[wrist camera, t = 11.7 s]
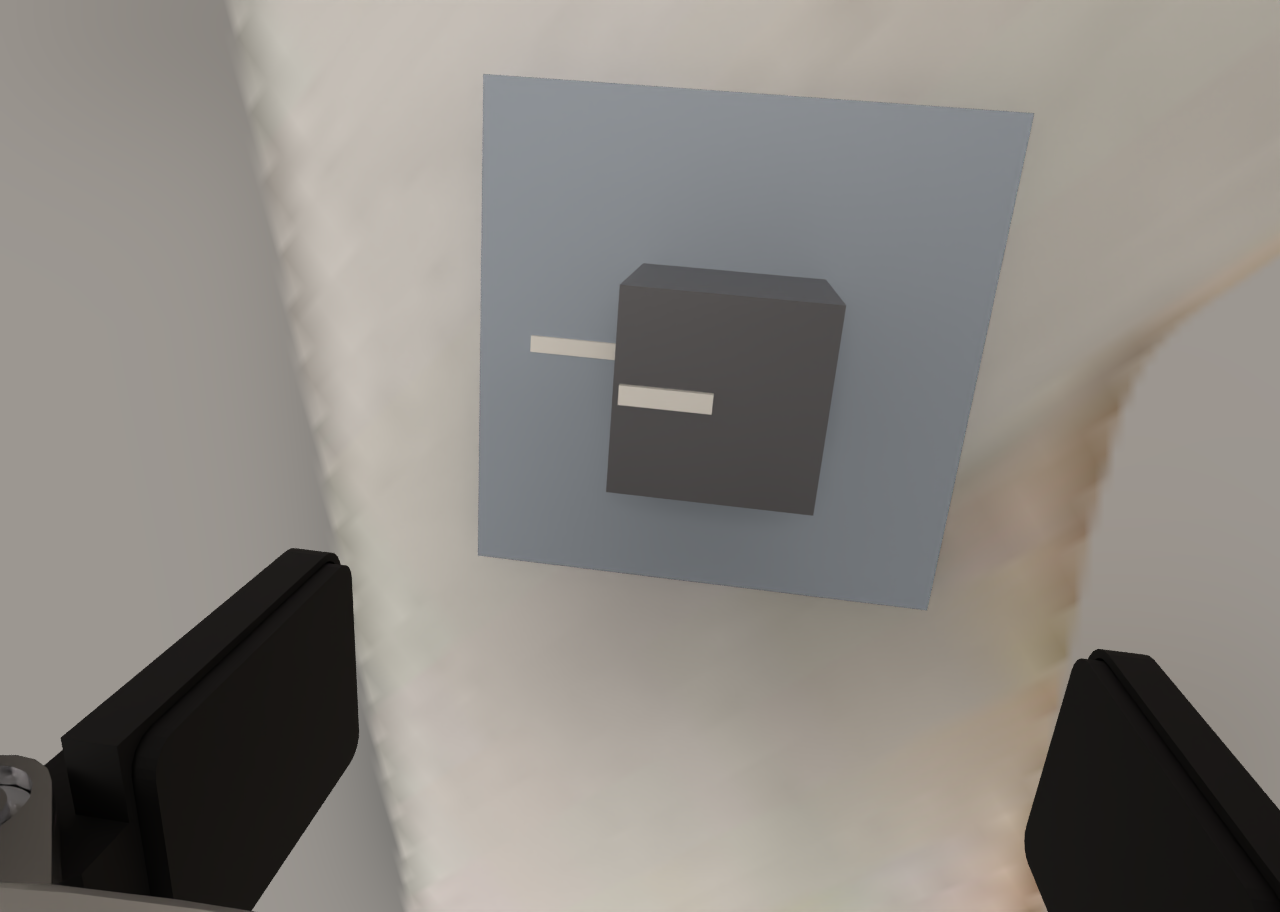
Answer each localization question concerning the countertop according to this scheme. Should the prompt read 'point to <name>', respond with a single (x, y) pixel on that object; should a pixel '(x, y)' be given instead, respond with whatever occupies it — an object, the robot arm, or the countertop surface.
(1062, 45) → the countertop surface
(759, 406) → the dark gray cube
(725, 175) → the hub panel
